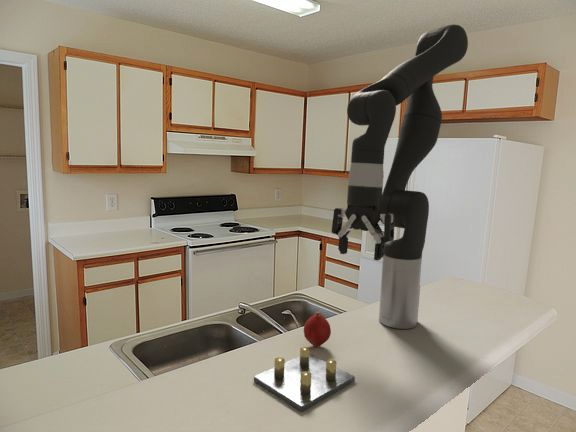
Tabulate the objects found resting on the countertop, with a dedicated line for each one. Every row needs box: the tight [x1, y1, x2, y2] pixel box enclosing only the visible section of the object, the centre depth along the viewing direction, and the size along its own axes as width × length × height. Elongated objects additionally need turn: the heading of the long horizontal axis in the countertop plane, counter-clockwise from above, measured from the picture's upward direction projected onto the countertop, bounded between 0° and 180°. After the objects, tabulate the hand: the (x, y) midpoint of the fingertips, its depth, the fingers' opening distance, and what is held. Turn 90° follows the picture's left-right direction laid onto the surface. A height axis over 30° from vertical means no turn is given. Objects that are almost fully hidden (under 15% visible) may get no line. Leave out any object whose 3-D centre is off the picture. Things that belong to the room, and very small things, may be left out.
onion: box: [303, 311, 332, 348], centre depth 89 cm, size 6×6×8 cm
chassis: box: [253, 346, 356, 413], centre depth 75 cm, size 14×12×4 cm
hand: (359, 256), depth 93 cm, fingers open, 8 cm apart
